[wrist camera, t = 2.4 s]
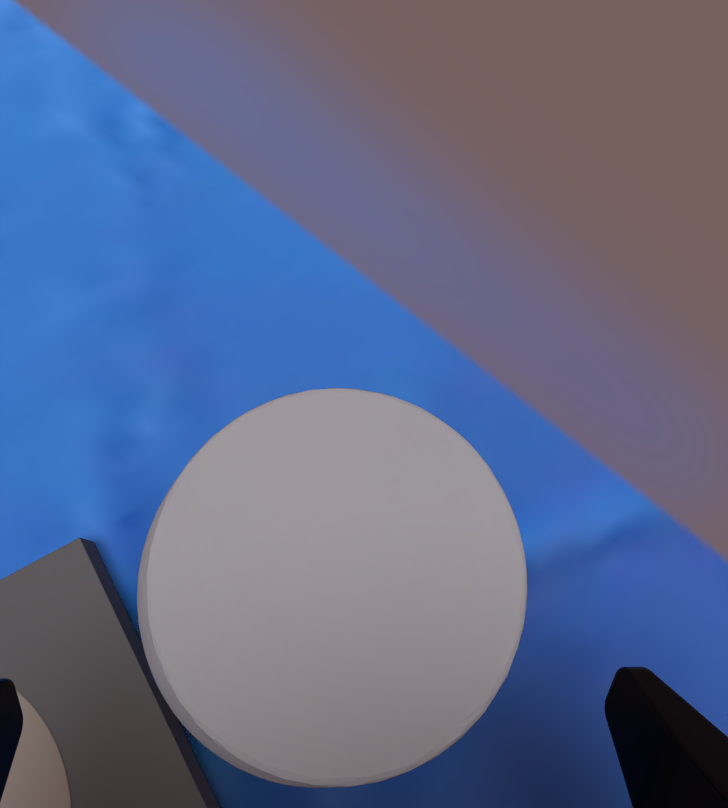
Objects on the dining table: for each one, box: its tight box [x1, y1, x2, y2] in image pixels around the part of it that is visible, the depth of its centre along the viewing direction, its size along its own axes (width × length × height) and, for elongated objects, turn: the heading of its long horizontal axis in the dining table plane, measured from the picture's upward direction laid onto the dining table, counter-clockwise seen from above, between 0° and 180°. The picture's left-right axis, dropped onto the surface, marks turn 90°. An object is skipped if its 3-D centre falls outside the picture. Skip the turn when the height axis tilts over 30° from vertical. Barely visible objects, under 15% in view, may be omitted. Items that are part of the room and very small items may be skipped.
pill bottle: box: [137, 388, 527, 788], centre depth 13 cm, size 6×6×12 cm
